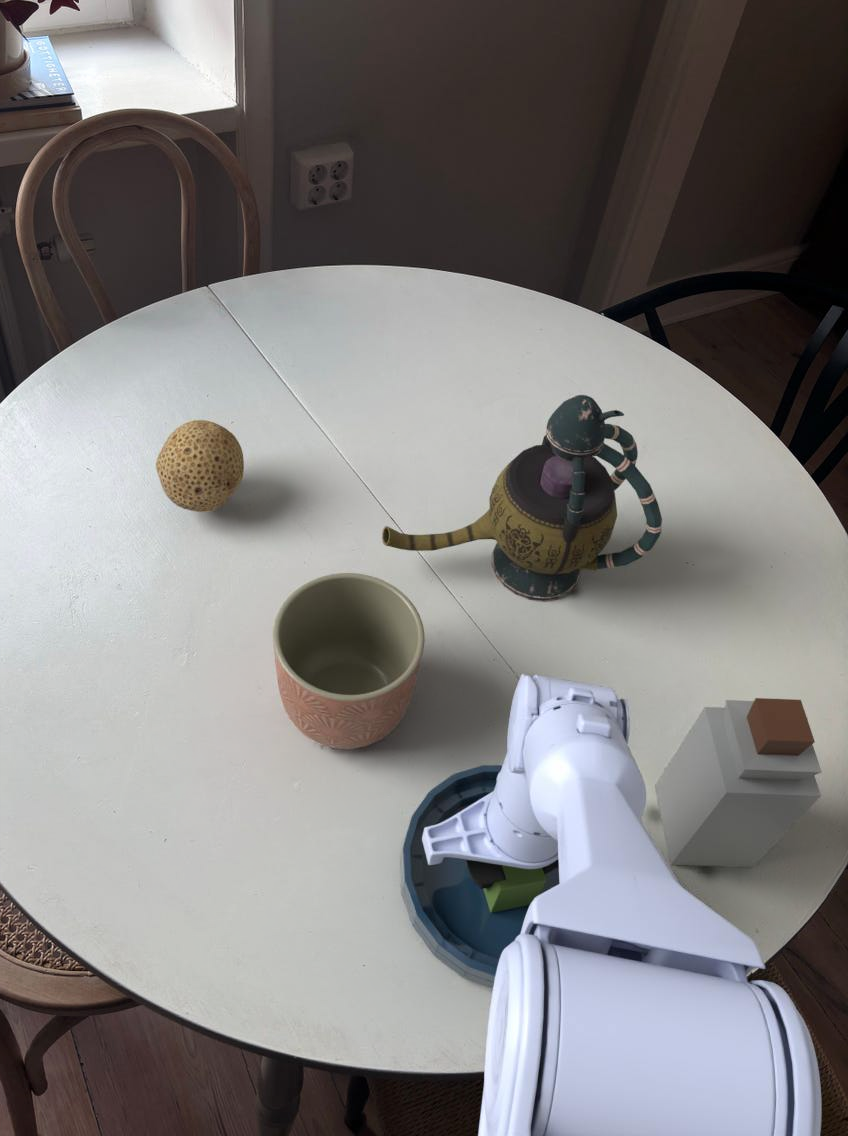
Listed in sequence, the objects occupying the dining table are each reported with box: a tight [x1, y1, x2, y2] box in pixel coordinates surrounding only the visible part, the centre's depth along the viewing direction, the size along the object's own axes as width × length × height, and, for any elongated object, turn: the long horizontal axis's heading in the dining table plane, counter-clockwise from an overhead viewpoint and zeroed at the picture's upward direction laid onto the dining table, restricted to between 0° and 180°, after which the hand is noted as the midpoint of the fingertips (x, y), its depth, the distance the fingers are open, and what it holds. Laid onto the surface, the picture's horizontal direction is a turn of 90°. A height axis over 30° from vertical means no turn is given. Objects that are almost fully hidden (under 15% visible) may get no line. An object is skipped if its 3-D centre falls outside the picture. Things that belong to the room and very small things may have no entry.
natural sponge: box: [155, 419, 245, 513], centre depth 96 cm, size 9×9×10 cm
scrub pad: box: [484, 865, 546, 913], centre depth 72 cm, size 5×4×5 cm
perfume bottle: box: [654, 697, 823, 868], centre depth 71 cm, size 7×7×18 cm
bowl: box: [399, 764, 560, 989], centre depth 73 cm, size 16×16×4 cm
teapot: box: [381, 394, 663, 602], centre depth 87 cm, size 12×25×23 cm, turn 94°
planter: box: [272, 572, 426, 750], centre depth 80 cm, size 12×12×11 cm
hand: (506, 870), depth 73 cm, fingers closed on scrub pad, 3 cm apart
